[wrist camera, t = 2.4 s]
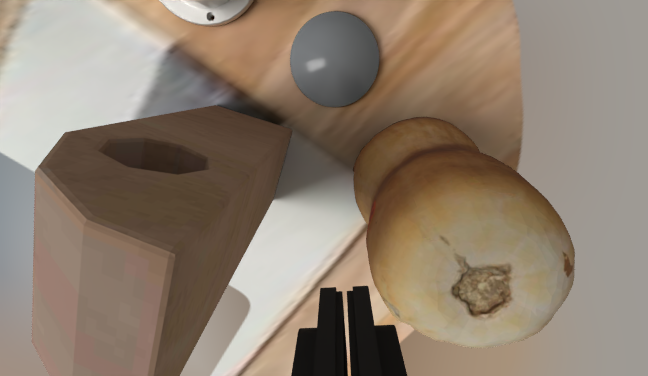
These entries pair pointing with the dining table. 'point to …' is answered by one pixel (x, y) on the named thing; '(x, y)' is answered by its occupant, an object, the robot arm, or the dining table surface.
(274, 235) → the dining table surface
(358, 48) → the grey dome
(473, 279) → the butternut squash
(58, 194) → the decorative block
